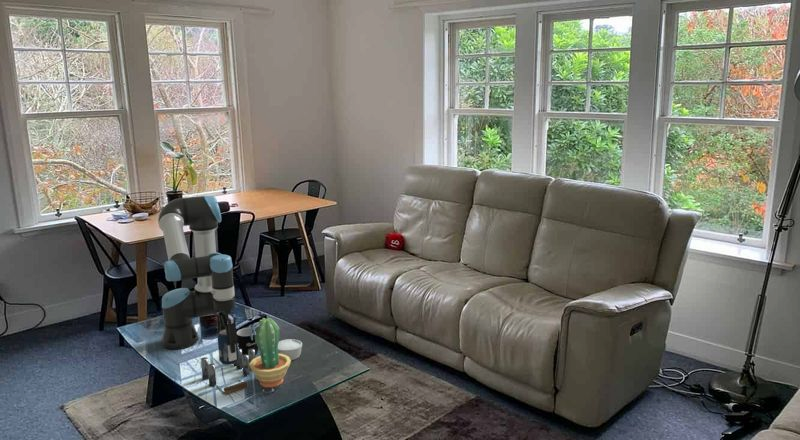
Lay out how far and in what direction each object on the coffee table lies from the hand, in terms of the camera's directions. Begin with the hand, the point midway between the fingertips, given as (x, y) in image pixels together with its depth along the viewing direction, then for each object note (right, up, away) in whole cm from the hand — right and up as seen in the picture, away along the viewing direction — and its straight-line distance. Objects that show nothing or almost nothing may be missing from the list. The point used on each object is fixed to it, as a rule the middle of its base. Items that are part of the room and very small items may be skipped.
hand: (229, 356), depth 226 cm
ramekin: (+17, -6, +27) cm, 33 cm away
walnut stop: (+3, -13, -1) cm, 13 cm away
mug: (+1, -6, +31) cm, 31 cm away
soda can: (0, -2, +1) cm, 2 cm away
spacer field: (-3, -9, +13) cm, 17 cm away
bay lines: (0, -12, +3) cm, 12 cm away
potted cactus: (+14, -11, +6) cm, 19 cm away
